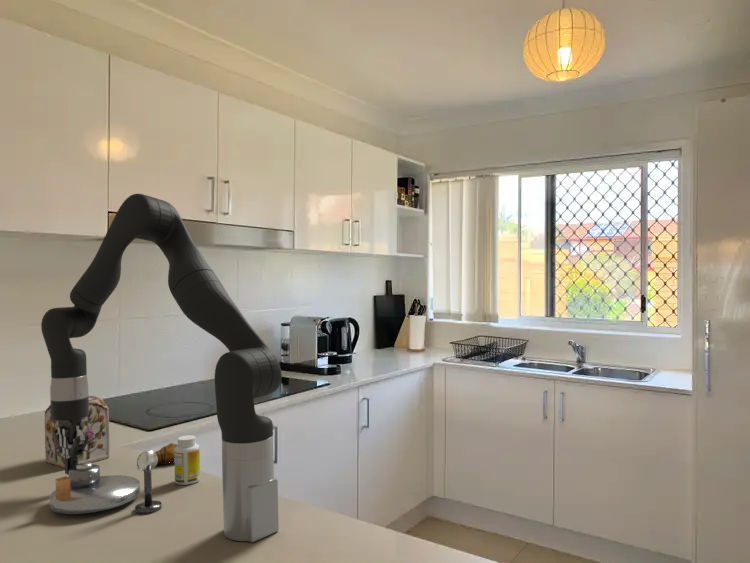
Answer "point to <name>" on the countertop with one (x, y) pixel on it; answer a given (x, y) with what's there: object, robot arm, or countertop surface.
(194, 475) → the supplement bottle
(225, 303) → the robot arm
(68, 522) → the countertop surface
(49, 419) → the decorative jar
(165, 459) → the croissant
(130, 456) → the countertop surface
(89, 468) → the cover
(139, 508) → the dial stand
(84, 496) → the turntable
